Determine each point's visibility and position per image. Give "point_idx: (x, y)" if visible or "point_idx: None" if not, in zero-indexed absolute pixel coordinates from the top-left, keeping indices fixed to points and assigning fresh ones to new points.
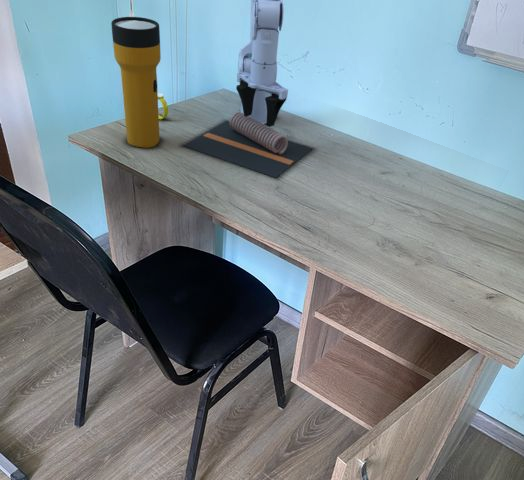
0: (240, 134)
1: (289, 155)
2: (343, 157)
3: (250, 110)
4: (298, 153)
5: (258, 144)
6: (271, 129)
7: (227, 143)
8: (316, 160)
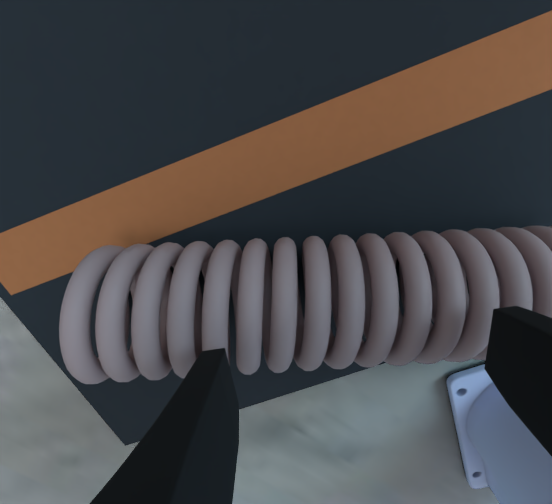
0: None
1: None
2: (6, 492)
3: (518, 389)
4: None
5: None
6: None
7: (417, 70)
8: (6, 394)
